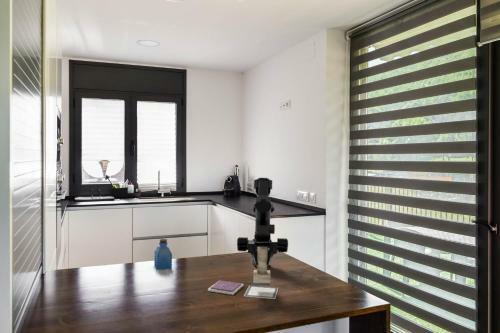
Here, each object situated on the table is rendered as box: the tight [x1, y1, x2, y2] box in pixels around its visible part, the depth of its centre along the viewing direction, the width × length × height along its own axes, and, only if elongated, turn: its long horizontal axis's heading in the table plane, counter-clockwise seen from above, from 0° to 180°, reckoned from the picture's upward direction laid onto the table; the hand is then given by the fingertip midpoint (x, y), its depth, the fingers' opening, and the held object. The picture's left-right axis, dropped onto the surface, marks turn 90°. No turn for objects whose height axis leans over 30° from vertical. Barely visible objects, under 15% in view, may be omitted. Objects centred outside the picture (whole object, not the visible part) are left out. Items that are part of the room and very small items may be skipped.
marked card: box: [243, 285, 279, 300], centre depth 139 cm, size 11×11×1 cm
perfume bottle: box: [153, 238, 173, 271], centre depth 167 cm, size 6×6×12 cm
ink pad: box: [207, 280, 245, 296], centre depth 142 cm, size 10×10×1 cm
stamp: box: [252, 247, 271, 286], centre depth 139 cm, size 6×6×12 cm
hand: (262, 265), depth 138 cm, fingers closed on stamp, 4 cm apart
